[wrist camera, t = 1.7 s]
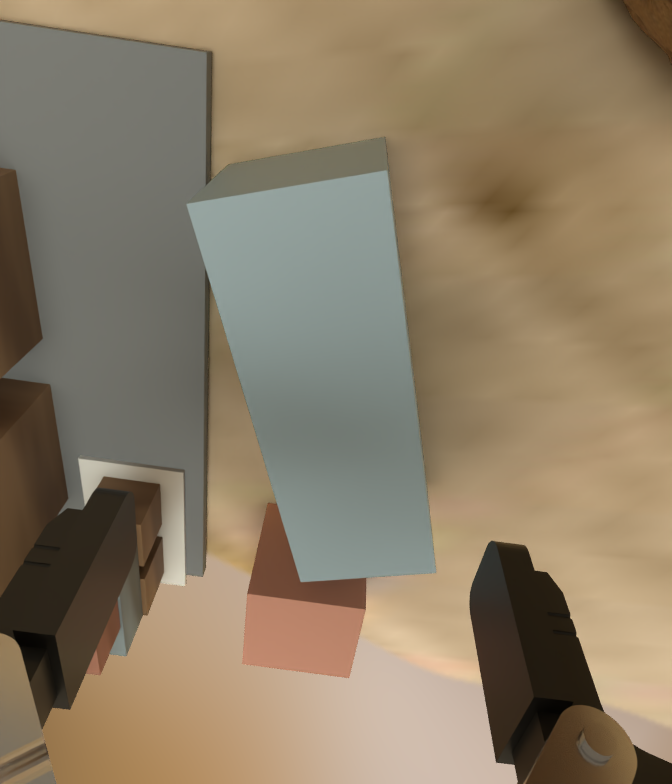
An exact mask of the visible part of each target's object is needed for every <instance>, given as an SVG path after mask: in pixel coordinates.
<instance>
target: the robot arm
mask: <svg viewBox="0 0 672 784" xmlns="http://www.w3.org/2000/svg"><path fill="white" fill-rule="evenodd" d="M136 547H137V530H136V515H135V500H134V494H133V492H130V491H122V490H114V489H107V488H99V487H98V488H96V489H95V490H94V491H93V493H92V495H91V496H90V498H89V500H88V501H87V503H86V505H85V507H84V508H83V510H80V509H72V508H67V509H66V510H64V511H63V512H62V513H61V514H59V515H58V516H57V517H55V518H54V519H53V520H52V521H50V522H49V523H48V524H47V525H46V526H45V528H44V529H43V531H42V533H41V534H40V536H39V537H38V539H37V540H36V542H35V544H34V548H31V550H30V551H29V553H28V555H27V556H26V558H25V559H24V563H23V565H21V566H20V567H19V569H18V570H17V572H16V573H15V575H14V577H13V578H12V580H11V581H10V583H9V584H8V586H7V588H6V589H5V591H4V592H3V594H2V595H1V597H0V784H56V781H55V777H54V774H53V770H52V766H51V762H50V759H49V755H48V751H47V748H46V744H45V740H44V737H43V733H42V729H43V726H44V724H45V722H46V720H47V718H48V715H49V713H50V711H51V709H52V708H62V709H69V710H70V709H71V706H72V704H73V702H74V699H75V697H76V694H77V692H78V690H79V688H80V685H81V683H82V680H83V679H84V676H85V674H86V672H87V669H88V667H89V665H90V662H91V660H92V658H93V655H94V653H95V651H96V648H97V646H98V644H99V642H100V639H101V637H102V635H103V632H104V630H105V628H106V625H107V623H108V621H109V618H110V616H111V614H112V611H113V609H114V607H115V604H116V602H117V600H118V598H119V595H120V593H121V591H122V588H123V586H124V584H125V581H126V579H127V577H128V574H129V572H130V570H131V567H132V564H133V561H134V558H135V553H136ZM470 615H471V621H472V626H473V632H474V638H475V644H476V649H477V655H478V661H479V667H480V672H481V678H482V684H483V690H484V695H485V701H486V707H487V712H488V718H489V724H490V730H491V735H492V741H493V747H494V752H495V759H496V762H497V763H504V764H513V765H515V769H516V774H517V780H518V783H517V784H672V763H669V762H667V761H665V760H663V759H660V758H658V757H656V756H654V755H651V754H649V753H647V752H645V751H643V750H641V749H639V748H638V747H636V746H635V745H633V744H632V742H631V740H630V738H629V737H628V735H627V734H626V732H625V731H624V730H623V728H622V727H621V726H620V725H619V724H618V723H617V722H616V721H615V720H614V719H613V718H611V717H610V716H609V715H607V714H606V713H605V712H604V710H603V708H602V705H601V703H600V700H599V697H598V694H597V691H596V688H595V685H594V682H593V679H592V676H591V674H590V671H589V668H588V665H587V662H586V659H585V656H584V653H583V650H582V647H581V644H580V641H579V639H578V637H576V630H575V627H574V624H573V621H572V619H570V612H569V609H568V606H567V603H566V601H565V598H564V595H563V592H562V591H561V590H560V588H559V587H558V586H557V585H556V583H555V582H554V581H553V579H552V578H551V577H550V575H549V574H548V573H547V572H541V571H534V567H533V564H532V561H531V558H530V554H529V551H528V549H527V547H526V546H524V545H519V544H511V543H504V542H496V541H491V542H490V543H489V544H488V546H487V548H486V551H485V553H484V556H483V558H482V561H481V563H480V566H479V568H478V571H477V573H476V576H475V578H474V581H473V583H472V587H471V591H470Z"/></svg>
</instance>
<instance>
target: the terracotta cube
mask: <svg viewBox="0 0 672 784" xmlns="http://www.w3.org/2000/svg"><path fill="white" fill-rule="evenodd" d="M365 610H366V578H355V579H341V580H326V581H311V582H301V581H300V578H299V575H298V572H297V568H296V565H295V562H294V558H293V555H292V552H291V548H290V545H289V542H288V538H287V535H286V532H285V529H284V525H283V522H282V519H281V515H280V512H279V509H278V505H277V504H272V503H268V505H267V510H266V514H265V519H264V523H263V527H262V532H261V536H260V540H259V545H258V549H257V554H256V558H255V562H254V567H253V571H252V575H251V580H250V584H249V589H248V593H247V606H246V619H245V633H244V648H243V662H242V664H246V665H254V666H261V667H269V668H277V669H285V670H292V671H299V672H308V673H314V674H322V675H330V676H337V677H345V678H349V676H350V672H351V668H352V664H353V660H354V656H355V651H356V647H357V643H358V639H359V635H360V631H361V627H362V623H363V619H364V614H365Z"/></svg>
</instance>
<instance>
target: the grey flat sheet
mask: <svg viewBox="0 0 672 784" xmlns="http://www.w3.org/2000/svg"><path fill="white" fill-rule="evenodd" d="M211 77H212V52H210V51H204V50H197V49H190V48H184V47H177V46H170V45H164V44H157V43H151V42H144V41H137V40H131V39H124V38H117V37H111V36H104V35H97V34H91V33H84V32H77V31H71V30H64V29H57V28H51V27H44V26H38V25H31V24H24V23H18V22H11V21H4V20H0V168H6V169H13V170H16V174H17V181H18V187H19V193H20V199H21V205H22V212H23V218H24V224H25V230H26V237H27V243H28V249H29V255H30V262H31V268H32V274H33V280H34V287H35V293H36V299H37V305H38V311H39V318H40V324H41V330H42V336H43V339H42V340H41V341H40V342H39V343H38V344H37V345H36V346H35V347H34V348H33V349H31V350H30V351H29V352H28V353H27V354H26V355H25V356H24V357H23V358H22V359H21V360H20V361H19V362H18V363H17V364H15V365H14V366H13V367H12V368H11V369H10V370H9V371H8V372H7V373H6V374H5V375H4V376H3V377H2V378H8V379H15V380H22V381H30V382H37V383H44V384H50V386H51V392H52V399H53V405H54V411H55V417H56V424H57V430H58V436H59V442H60V449H61V455H62V461H63V467H64V473H65V480H66V486H67V492H68V498H69V499H68V500H67V502H66V503H65V505H64V506H63V508H62V509H61V511H60V512H59V514H61V513H62V512H63V511H64V510H66V509H67V508H72V509H80V510H83V508H84V507H85V503H84V496H83V489H82V482H81V475H80V468H79V461H78V458H79V456H80V455H81V456H88V457H95V458H103V459H110V460H117V461H124V462H132V463H139V464H146V465H153V466H161V467H168V468H175V469H182V470H185V524H186V575H192V576H200V577H203V575H204V571H205V568H206V517H207V429H208V341H209V277H208V274H207V271H206V267H205V264H204V261H203V257H202V254H201V251H200V248H199V244H198V241H197V238H196V234H195V231H194V228H193V224H192V221H191V218H190V214H189V211H188V208H187V205H186V204H187V203H188V202H189V201H190V200H191V199H192V198H193V197H194V196H195V195H196V194H197V193H198V192H200V191H201V190H202V189H203V188H204V187H205V186H206V185H207V184H208V183H209V182H210V165H211ZM59 514H58V515H59ZM58 515H57V516H58Z"/></svg>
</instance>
